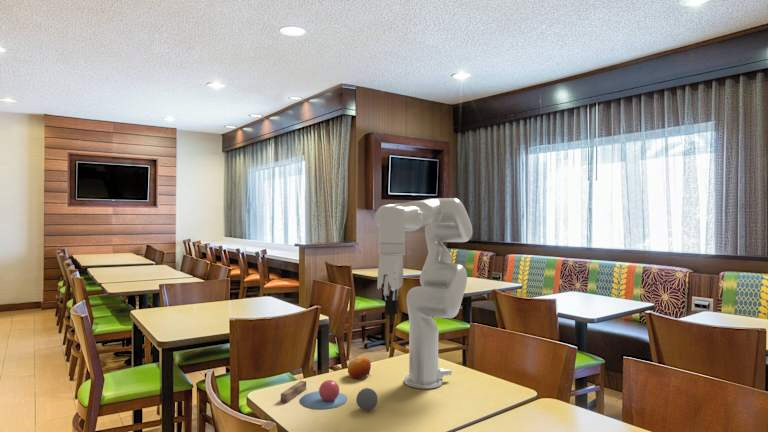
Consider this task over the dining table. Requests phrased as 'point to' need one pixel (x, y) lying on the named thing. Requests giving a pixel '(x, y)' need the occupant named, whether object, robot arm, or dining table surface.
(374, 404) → the grey ball
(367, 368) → the fruit
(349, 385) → the dining table surface
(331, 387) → the object ball
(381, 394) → the dining table surface
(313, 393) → the blue flat disc
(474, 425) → the dining table surface
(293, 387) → the wall
